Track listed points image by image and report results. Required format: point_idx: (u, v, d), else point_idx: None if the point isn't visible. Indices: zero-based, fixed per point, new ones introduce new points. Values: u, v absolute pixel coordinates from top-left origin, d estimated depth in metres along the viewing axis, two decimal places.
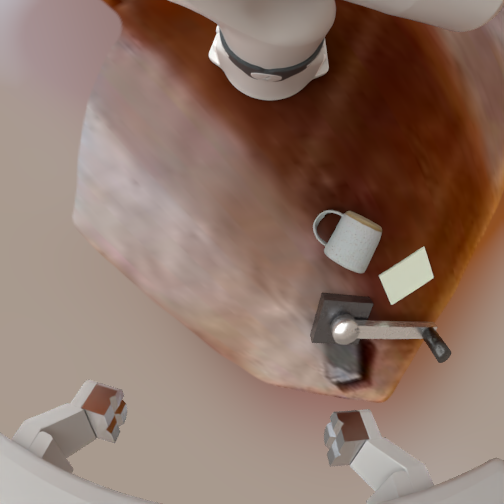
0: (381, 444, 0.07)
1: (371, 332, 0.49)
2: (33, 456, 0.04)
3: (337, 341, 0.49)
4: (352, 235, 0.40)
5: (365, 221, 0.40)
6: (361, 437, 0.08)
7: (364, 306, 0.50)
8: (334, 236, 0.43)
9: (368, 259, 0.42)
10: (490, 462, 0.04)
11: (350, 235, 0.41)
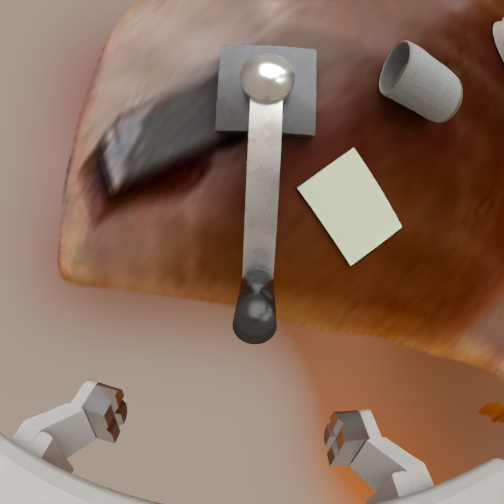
0: (381, 444, 0.07)
1: (265, 133, 0.24)
2: (33, 456, 0.04)
3: (248, 62, 0.21)
4: (445, 67, 0.19)
5: None
6: (361, 437, 0.08)
7: (308, 118, 0.26)
8: None
9: (423, 87, 0.20)
10: (490, 462, 0.04)
11: (443, 65, 0.19)
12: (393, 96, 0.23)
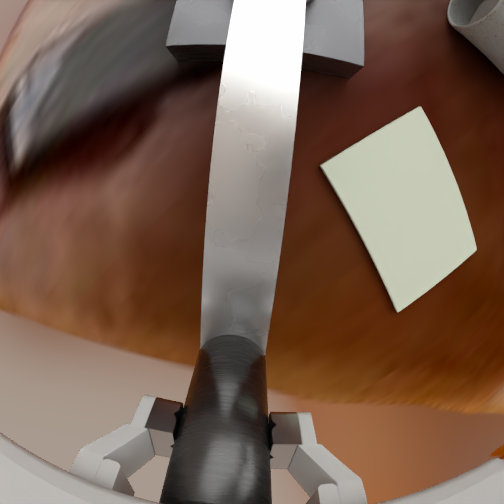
0: (314, 451, 0.07)
1: (266, 33, 0.09)
2: (33, 456, 0.04)
3: None
4: None
5: None
6: (293, 441, 0.07)
7: (350, 35, 0.11)
8: None
9: None
10: (490, 462, 0.04)
11: None
12: (481, 31, 0.08)
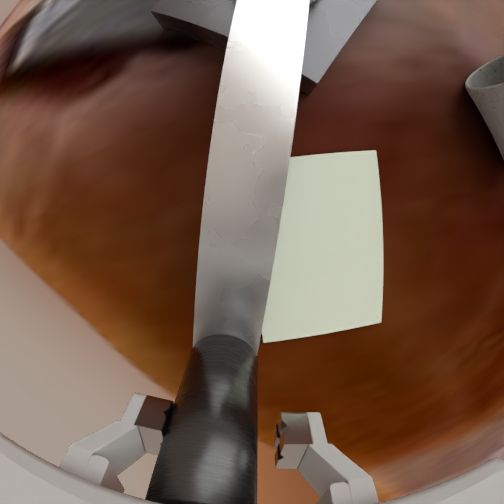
0: (325, 450, 0.07)
1: (268, 33, 0.09)
2: (33, 456, 0.04)
3: None
4: None
5: None
6: (304, 441, 0.07)
7: (320, 51, 0.11)
8: None
9: None
10: (490, 462, 0.04)
11: None
12: (491, 98, 0.10)
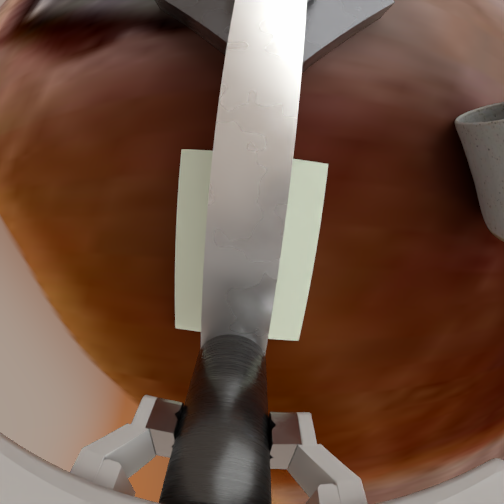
0: (314, 451, 0.07)
1: (267, 33, 0.09)
2: (33, 456, 0.04)
3: None
4: None
5: None
6: (293, 441, 0.07)
7: None
8: None
9: None
10: (490, 462, 0.04)
11: None
12: (476, 136, 0.10)
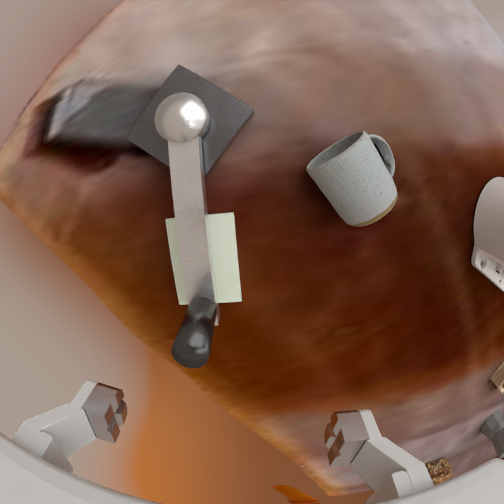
0: (381, 443, 0.07)
1: (185, 172, 0.26)
2: (33, 456, 0.04)
3: (161, 107, 0.23)
4: (387, 179, 0.25)
5: (392, 206, 0.26)
6: (361, 437, 0.08)
7: None
8: None
9: (342, 184, 0.25)
10: (490, 462, 0.04)
11: (387, 176, 0.25)
12: (311, 175, 0.27)
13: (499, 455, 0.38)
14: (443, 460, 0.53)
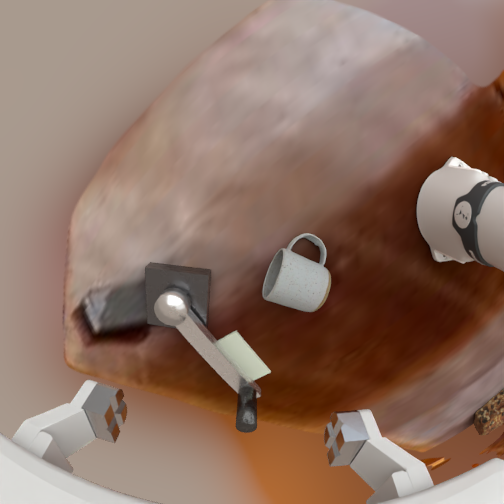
0: (381, 443, 0.07)
1: (194, 335, 0.42)
2: (33, 456, 0.04)
3: (156, 309, 0.40)
4: (314, 279, 0.37)
5: (328, 292, 0.38)
6: (361, 437, 0.08)
7: None
8: (304, 259, 0.39)
9: (285, 302, 0.38)
10: (490, 462, 0.04)
11: (313, 277, 0.37)
12: None
13: None
14: None
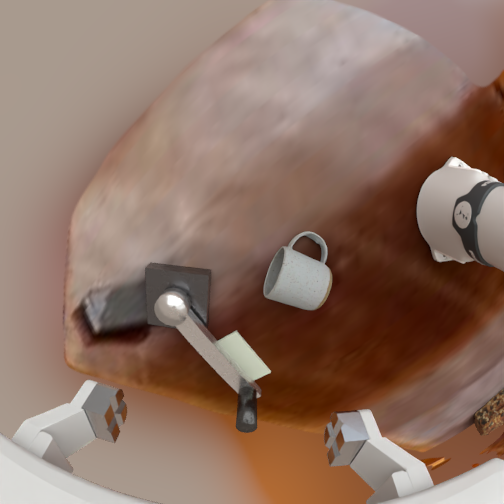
0: (381, 443, 0.07)
1: (194, 335, 0.42)
2: (33, 456, 0.04)
3: (156, 310, 0.40)
4: (315, 277, 0.37)
5: (329, 290, 0.38)
6: (361, 437, 0.08)
7: None
8: (305, 257, 0.39)
9: (286, 300, 0.38)
10: (490, 462, 0.04)
11: (314, 275, 0.37)
12: None
13: None
14: None
